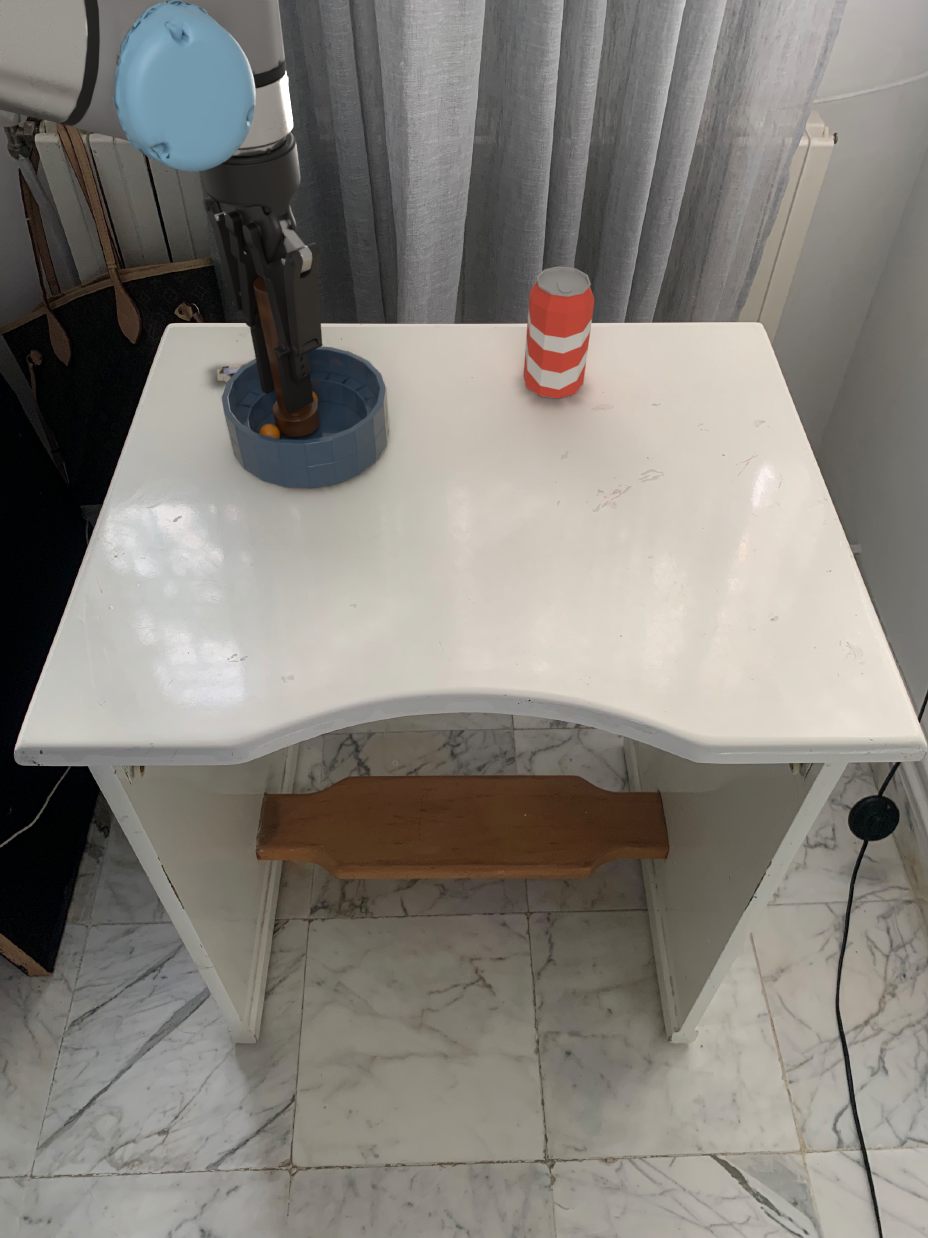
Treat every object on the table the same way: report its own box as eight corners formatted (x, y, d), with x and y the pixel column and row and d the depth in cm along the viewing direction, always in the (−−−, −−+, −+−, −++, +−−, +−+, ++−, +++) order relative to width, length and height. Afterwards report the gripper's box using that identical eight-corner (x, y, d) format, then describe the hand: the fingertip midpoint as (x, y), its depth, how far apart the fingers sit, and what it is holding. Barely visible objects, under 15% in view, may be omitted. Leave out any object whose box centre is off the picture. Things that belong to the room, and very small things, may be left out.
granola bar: (279, 365, 97) (278, 357, 96) (281, 377, 96) (280, 369, 95) (217, 372, 96) (215, 364, 95) (218, 385, 95) (216, 376, 94)
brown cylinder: (267, 430, 87) (236, 289, 75) (289, 404, 90) (262, 264, 78) (307, 441, 86) (281, 300, 74) (328, 415, 88) (307, 274, 77)
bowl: (218, 491, 84) (205, 440, 79) (251, 393, 93) (241, 343, 89) (380, 497, 83) (375, 447, 79) (395, 398, 93) (393, 348, 88)
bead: (262, 450, 87) (254, 436, 85) (265, 434, 88) (257, 420, 86) (281, 447, 86) (273, 434, 85) (284, 431, 87) (276, 418, 86)
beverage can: (528, 404, 93) (537, 299, 83) (520, 369, 97) (527, 264, 87) (586, 402, 93) (601, 296, 84) (575, 366, 97) (588, 262, 88)
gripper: (350, 156, 65) (371, 419, 83) (227, 90, 72) (271, 344, 90) (264, 187, 61) (305, 454, 79) (144, 114, 69) (207, 373, 87)
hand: (287, 395), depth 85 cm, fingers closed on brown cylinder, 3 cm apart
